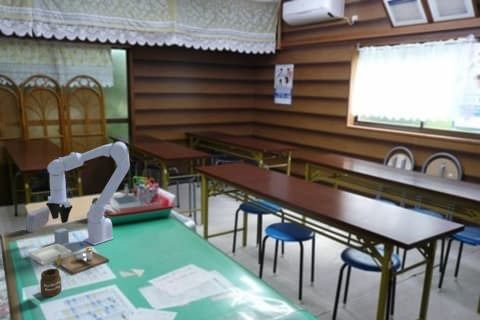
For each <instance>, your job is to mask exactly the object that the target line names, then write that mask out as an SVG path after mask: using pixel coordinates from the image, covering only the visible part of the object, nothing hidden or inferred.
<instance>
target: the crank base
mask: <svg viewBox="0 0 480 320" xmlns="http://www.w3.org/2000/svg"><path fill="white" fill-rule="evenodd" d="M81 252H86V249H85V250H83V251H81ZM77 253H78V252H76V253H72V255H70V256H67V257H64V258H61V259H60V263H59V265H58V267H60V268H61V269H63V270H65V272H66V271H67V272H68V273H70V274H72V275H77V274H80V273H82V272H85V271H88V270H91V269H93V268H96V267H98V266H102V265H104V264H106V263H109V262H110V259H109V258H107V257H105V256H103V255H101V254H99V253H97V252H96V251H93V250H92V263H90V264H87V263H85V262H83V261H81V262H79V261H77V260H76V254H77ZM53 264H55V265H56V266H57V260H55V261H54V262H53Z"/></svg>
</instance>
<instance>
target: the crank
mask: <svg viewBox="0 0 480 320" xmlns="http://www.w3.org/2000/svg"><path fill="white" fill-rule="evenodd" d="M85 250H86V252H82V251H79V252H76V253H77V254H76V253H75V254H76V260H77V261H79V262H81V261H83V262H85V263H87V264H90V263H92V251H93V248H92V247H87V248H86V249H85Z"/></svg>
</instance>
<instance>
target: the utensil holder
mask: <svg viewBox="0 0 480 320" xmlns="http://www.w3.org/2000/svg"><path fill="white" fill-rule="evenodd" d="M60 258H61V255H58V259H57V265H56V267H55V268H47V269H46V267H49V266H48V264H45V265H44V264H43V265H41V264H38V267H39V270H41V271H40V272H41V274H40V277H41V278H40V280H39V281H40V282H39V284H40V286H39V287H40V294H41V296H42V297H45V298H48V297H49V298H50V297H55V296H57V295H59V294H60V293H62V292H61V291H62V277H61V274H60V270H59V266H58V265H59V263H60ZM43 262H44V261H43ZM40 263H42V262H40ZM44 263H45V262H44Z"/></svg>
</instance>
